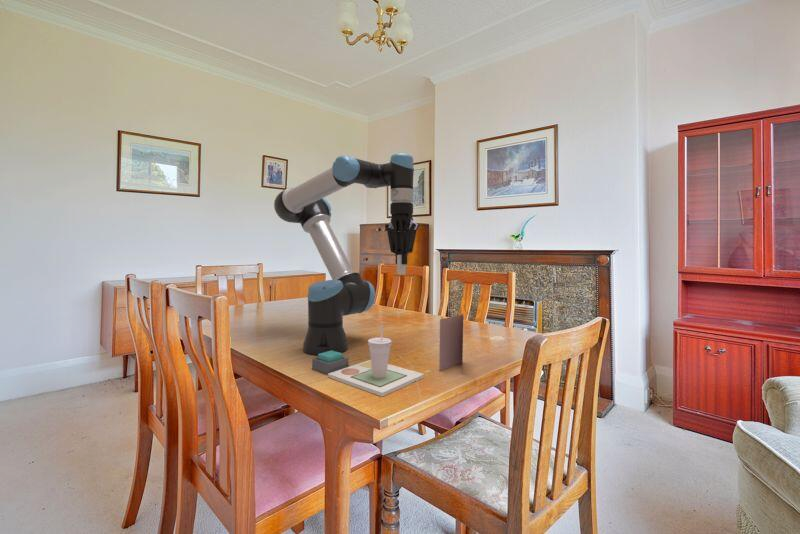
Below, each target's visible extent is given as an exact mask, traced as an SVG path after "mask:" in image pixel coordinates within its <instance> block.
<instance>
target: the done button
mask: <svg viewBox="0 0 800 534" xmlns="http://www.w3.org/2000/svg"><path fill="white" fill-rule="evenodd" d="M343 355H344V353H343V352H341V353H339V352H336V351H332V350H331V351H327V352H324V353H320V354H318V355H317V357H318V360H321V361H324V362H327V363H331V362H334V361H337V360H341V359H343V357H344V356H343Z"/></svg>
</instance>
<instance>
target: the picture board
mask: <svg viewBox="0 0 800 534" xmlns="http://www.w3.org/2000/svg"><path fill="white" fill-rule="evenodd" d="M329 377H330V378H329ZM327 378H329V379H331V378H332V379H333V380H334V379H335V380H334V381H337V382H340V383H343V384H346V385H349V386H351V387H354V388H357V389H359V390H363V391H364V392H368V393H371V394H373V395H376V396H379V397H381V398H383V397H385V396H388V395H389V394H392V393H394V392H396V391H397V390H400V389H402V388H405V387H407V386H409V385H412V384H414V383H416V382H417V381H419V380H423V379H424V378H425V374H424V373H422V372H417V371H415V370H411V369H407V368H404V367H402V366H401V367H400V366H398V365H394V364H389V363H388V367H387V375H386V377H385V378H381V379H377V378H374V377H373V376H372V368H371V359H368V360H365V361H362V362H359V363H356V364H353V365H351V366H349V367H347V368H344V369H341V370H338V371H335V372H332V373H329V374H327ZM415 381H416V382H415ZM413 382H414V383H413Z"/></svg>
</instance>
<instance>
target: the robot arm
mask: <svg viewBox="0 0 800 534" xmlns="http://www.w3.org/2000/svg"><path fill="white" fill-rule="evenodd" d="M414 171H415V167H414V158H413V155H411V154H409V153H402V152H401V153H400V152H398V153H394V154H392V155H390V160H389V162H387V163H380V164H379V163H375V162H372V161H367V160H363V159H359V158H356V157H353V156H346V155H339V156H337V157H336V158H335V160H334V161H333V163H332V167H331V168H329V169H326V170H324V171H323V172H321V173H319V174H317V175H316V176H314V177H312V178H309V179H308V180H306V181H304V182H302V183H301V184H298V185H297V186H295V187H288V188H286V189H284V190H282V191H280V192H279V193H278V194H277V196H275V200H274V203H273V204H274V205H273V207H274V212H275V213H276V215H277V216H278V218H280V220H282V221H285V222H287V223H293V224H300V226H301V227H302V229H303V231H304V232H305V233H308V234H309V235H310V237H311V239H312V241H313V243H314V245H315V247H316V249H317V252H318V253H319V255H320V257H321V259H322V261H323V263H324V265H325V267H326V270H327V271H328V274H329V276H330V278H331V279H329V280H321V281H316V282H313V283H312V284H311V285H309V287H308V291H307V292H308V293H307V308H308V309H307V311H308V312H307V313H308V314H307V320H308V321H307V322H308V324H307V325H308V328H307V331H306V334H305V337H304V341H303V344H302V347H303V348H302V351H303V352H304V353H306V354H308V355H313V356H314V355H316V356H318V354H320V353H324V352H327V351H331V350H332V351H336V352H339V353H344V352H346V351H348V349H349V341H348V338H347V335H346V332H345V329H344V320H343V319H344V317H345V316H350V315H355V314H361V313H364V312H367V311H369V310H370V309H371V308H372V306H373V305H374V303H375V298H376V290H375V287H374V285H373V284H372V282H370V281H368V280H364V279H363V277H362V276H361V274H360V272H358V271H354V269H353V268H352V266H351V264H350V262H349V260H348V258H347V256H346V253H345V252H344V250H343V248H342V246H341V245H340V242H339V240H338V238H337V237H336V234H335V232H334V230H333V229H332V227H331V225H330V223H331V216H332V207H331V204H330V202H329V201H328V200H327V198H326V197H329V196H330V195H331V194H334V193H336V192H338V191H340V190H342V189H344V188H346V187H348V186H351V185H354V184H358V185H359V184H360V185H363V186H365V187H366V188H368V189H378V188H384V187H390V202H391V203H390V204H389V205H390V206H389V207H390V208H389V210H390V211H389V213H390V215H391V218H390V222H389V223H387V224H384V228H385V230H386V232H387V238H388V243H389V248H390V249H389V250H390V253H392V254H394V255H395V265H396V275H397V276H398V275H406V273H407V272H406V271H407V270H406V268H407V266H406V265H407V264H408V255H409V254H412V253H413V252H414V245H415V241H416V236H417V231H418V229H419V228H420V224H419V223H416V222H415V221H414V218H413V214H414V203H412V202H414Z"/></svg>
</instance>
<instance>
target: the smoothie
mask: <svg viewBox="0 0 800 534" xmlns="http://www.w3.org/2000/svg"><path fill="white" fill-rule="evenodd" d="M367 345H368V349H369V350H368V351H369V357H370V359H369V360H371V368H372V376H373V377H374V378H377V379H381V378H385V377H386V375H387V367H388V364H389V358H390V351H391V346H392V345H393V344H392V339H390V338H387V337H384V324H380V337H372V338H370V339H368V340H367Z"/></svg>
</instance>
